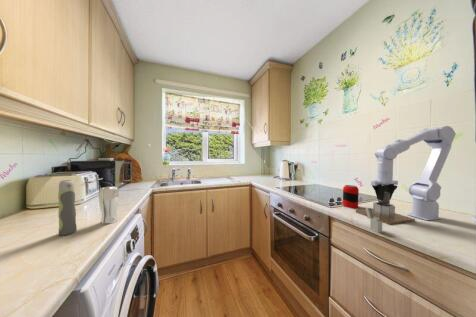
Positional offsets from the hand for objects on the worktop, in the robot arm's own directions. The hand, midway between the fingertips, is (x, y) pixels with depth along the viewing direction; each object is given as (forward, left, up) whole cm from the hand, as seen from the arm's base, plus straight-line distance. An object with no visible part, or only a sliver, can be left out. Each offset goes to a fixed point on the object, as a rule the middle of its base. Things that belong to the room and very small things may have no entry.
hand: (383, 199), depth 85 cm
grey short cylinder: (0, 0, -1) cm, 1 cm away
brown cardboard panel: (0, 0, -8) cm, 8 cm away
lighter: (+19, +10, -9) cm, 23 cm away
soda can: (+2, -17, -9) cm, 19 cm away
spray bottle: (+137, -13, -9) cm, 138 cm away
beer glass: (+127, -22, -9) cm, 129 cm away
